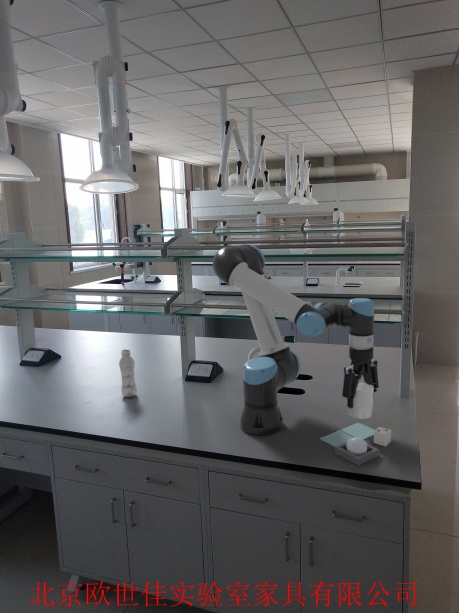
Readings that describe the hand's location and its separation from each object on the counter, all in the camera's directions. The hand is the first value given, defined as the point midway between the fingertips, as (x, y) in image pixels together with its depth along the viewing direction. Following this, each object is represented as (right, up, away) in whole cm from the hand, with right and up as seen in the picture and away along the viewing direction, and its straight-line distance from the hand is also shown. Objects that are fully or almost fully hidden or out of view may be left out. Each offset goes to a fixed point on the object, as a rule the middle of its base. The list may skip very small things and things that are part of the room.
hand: (360, 412), depth 147 cm
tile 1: (-8, -8, -4) cm, 12 cm away
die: (+5, -8, -6) cm, 11 cm away
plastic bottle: (-86, -3, +40) cm, 95 cm away
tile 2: (0, -7, +1) cm, 7 cm away
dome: (-5, -9, -13) cm, 16 cm away
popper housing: (-5, -10, -12) cm, 16 cm away
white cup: (0, -1, 0) cm, 1 cm away
